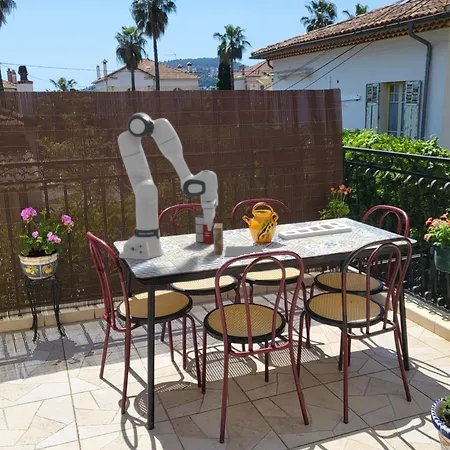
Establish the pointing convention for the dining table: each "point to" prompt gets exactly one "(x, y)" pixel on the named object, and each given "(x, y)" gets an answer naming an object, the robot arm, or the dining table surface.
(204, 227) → the grey and red box
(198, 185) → the robot arm
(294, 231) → the holder
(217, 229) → the tall block
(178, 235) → the dining table surface
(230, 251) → the mat
